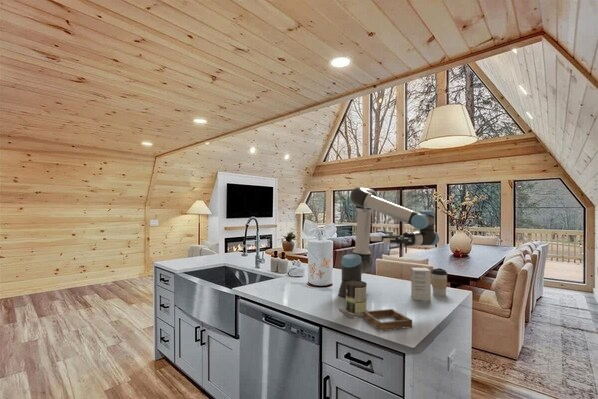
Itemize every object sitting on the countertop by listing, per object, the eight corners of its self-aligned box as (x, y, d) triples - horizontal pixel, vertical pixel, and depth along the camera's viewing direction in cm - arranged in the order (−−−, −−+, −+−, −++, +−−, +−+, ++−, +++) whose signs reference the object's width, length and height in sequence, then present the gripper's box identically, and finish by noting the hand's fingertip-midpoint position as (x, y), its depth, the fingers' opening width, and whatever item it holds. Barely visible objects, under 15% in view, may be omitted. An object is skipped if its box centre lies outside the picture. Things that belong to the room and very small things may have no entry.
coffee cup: (446, 297, 177) (446, 271, 177) (430, 295, 181) (429, 269, 182) (448, 293, 184) (448, 268, 185) (432, 291, 189) (432, 267, 190)
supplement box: (431, 301, 169) (431, 270, 170) (413, 300, 171) (413, 270, 172) (427, 296, 179) (427, 267, 179) (411, 295, 180) (410, 267, 181)
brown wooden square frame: (363, 317, 143) (363, 311, 143) (392, 315, 147) (392, 308, 147) (380, 330, 128) (380, 323, 128) (412, 327, 132) (412, 320, 132)
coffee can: (344, 313, 147) (344, 284, 147) (347, 307, 156) (347, 279, 157) (366, 316, 144) (365, 286, 144) (367, 309, 154) (367, 281, 154)
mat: (338, 309, 155) (338, 308, 155) (362, 307, 158) (362, 306, 158) (349, 318, 142) (349, 317, 142) (374, 316, 145) (374, 314, 145)
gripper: (426, 248, 155) (389, 250, 150) (398, 243, 179) (366, 244, 174) (426, 234, 155) (389, 234, 150) (398, 230, 179) (366, 230, 174)
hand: (376, 239), depth 162 cm, fingers open, 13 cm apart
